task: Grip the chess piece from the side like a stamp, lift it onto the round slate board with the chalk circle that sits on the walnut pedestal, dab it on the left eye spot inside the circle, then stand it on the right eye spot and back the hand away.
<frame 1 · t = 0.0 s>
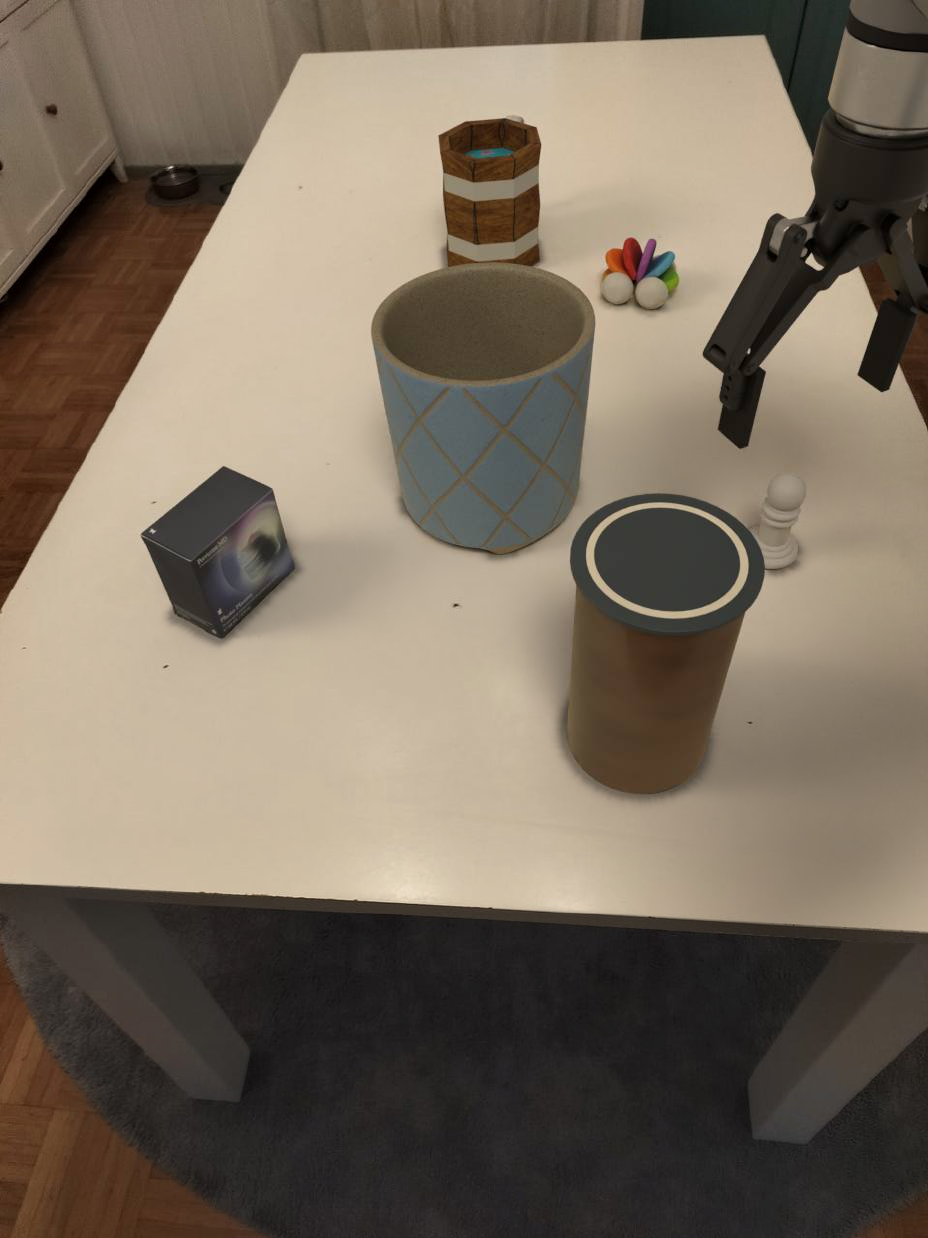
hand: (804, 409, 68), 18 cm above the table, tool pointing down, fingers open, 13 cm apart
slate board: (665, 562, 56), resting on walnut pedestal
rainbow petal fan toy: (638, 295, 113), on the table
small box: (237, 592, 83), on the table
mug: (499, 245, 123), on the table
chess piece: (766, 552, 83), on the table
planter: (490, 495, 90), on the table
walnut pedestal: (635, 733, 71), on the table
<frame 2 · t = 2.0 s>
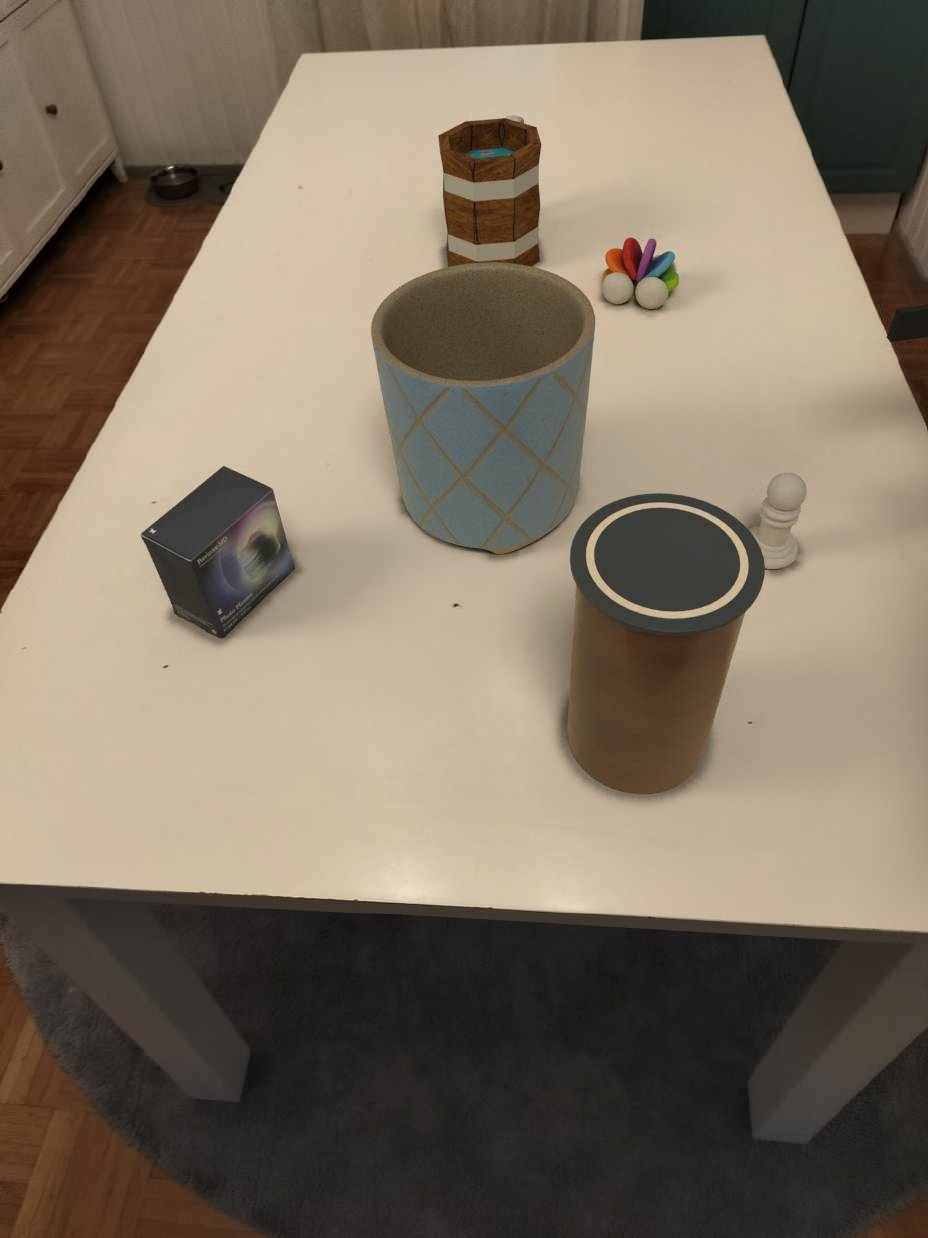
nothing on the table moved.
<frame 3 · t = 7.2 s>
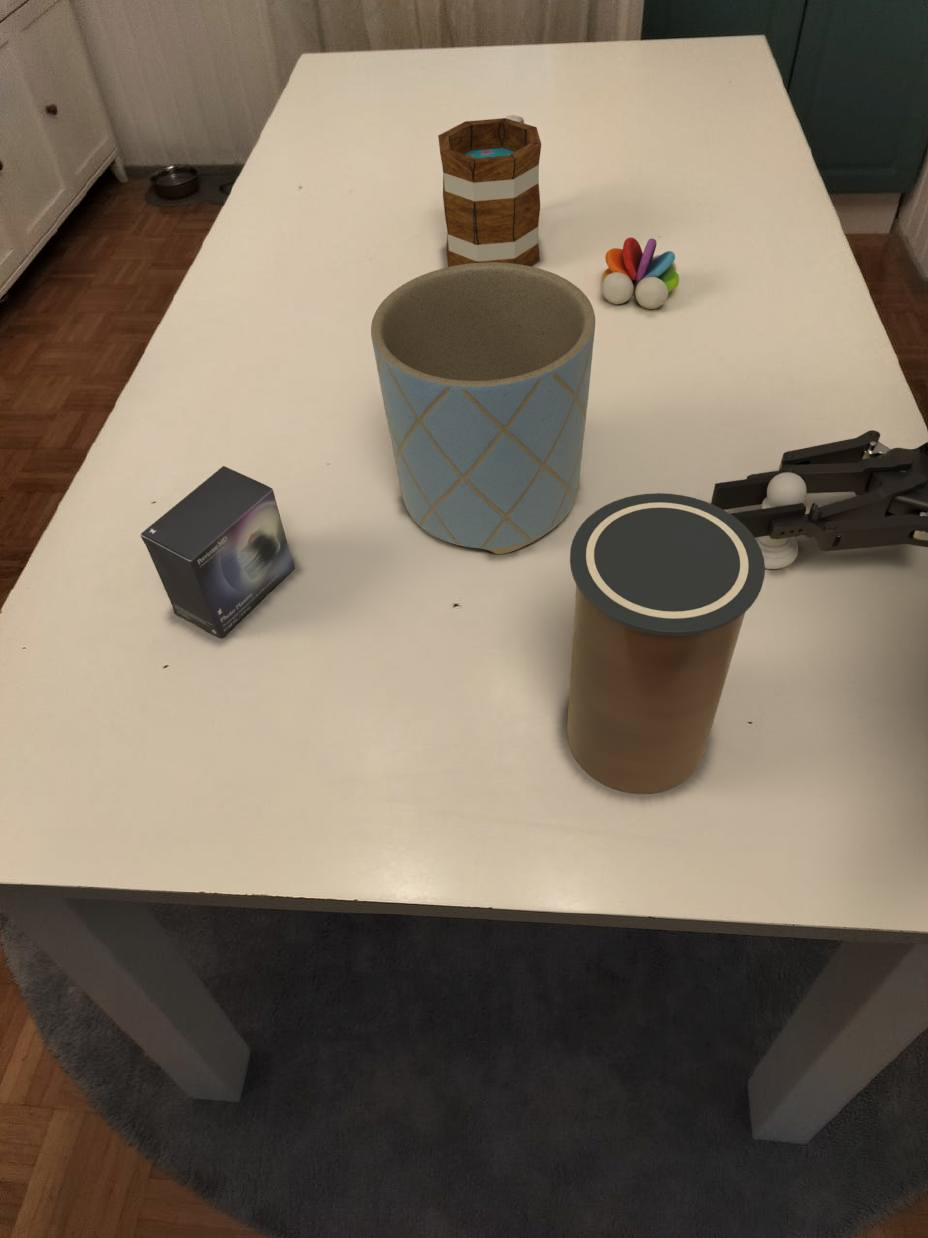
hand: (722, 512, 78), 6 cm above the table, tool horizontal, fingers closed on chess piece, 3 cm apart
chess piece: (767, 552, 83), on the table, touching gripper
everything else where it was.
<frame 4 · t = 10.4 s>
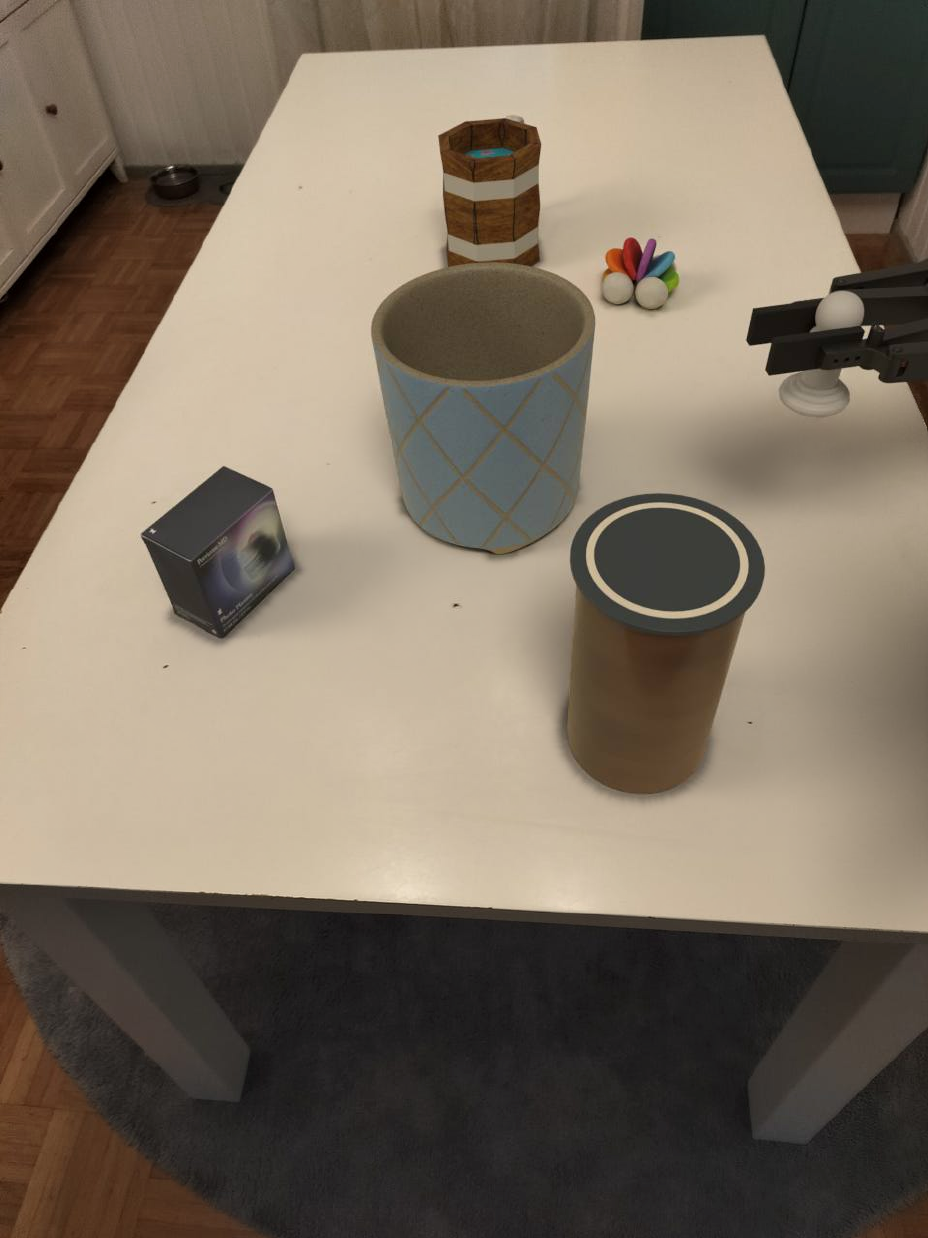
hand: (761, 341, 65), 23 cm above the table, tool horizontal, fingers closed on chess piece, 3 cm apart
chess piece: (811, 401, 70), point 17 cm above the table, touching gripper
everything else where it was.
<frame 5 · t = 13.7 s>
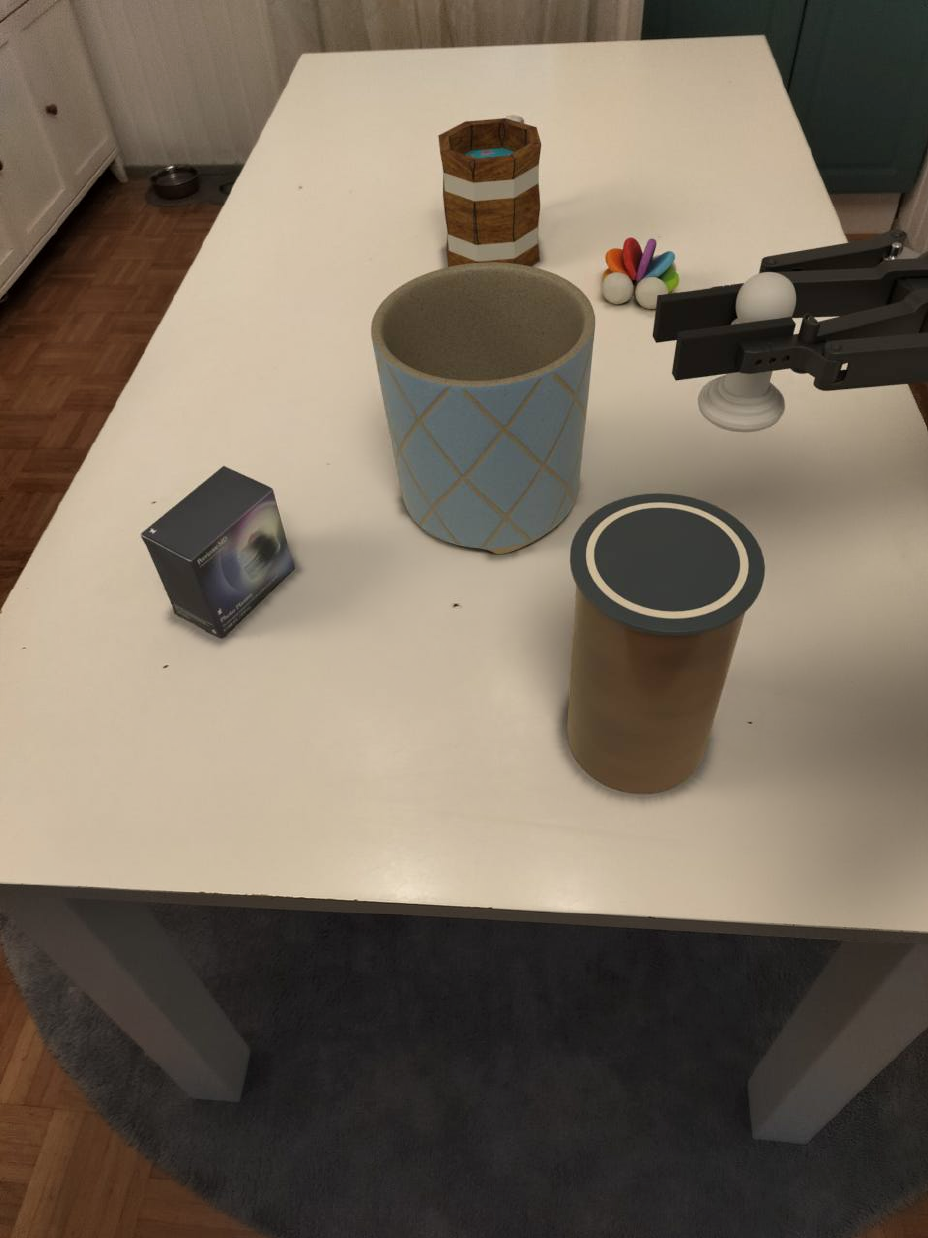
hand: (667, 337, 51), 32 cm above the table, tool horizontal, fingers closed on chess piece, 3 cm apart
chess piece: (738, 412, 56), point 25 cm above the table, touching gripper
everything else where it was.
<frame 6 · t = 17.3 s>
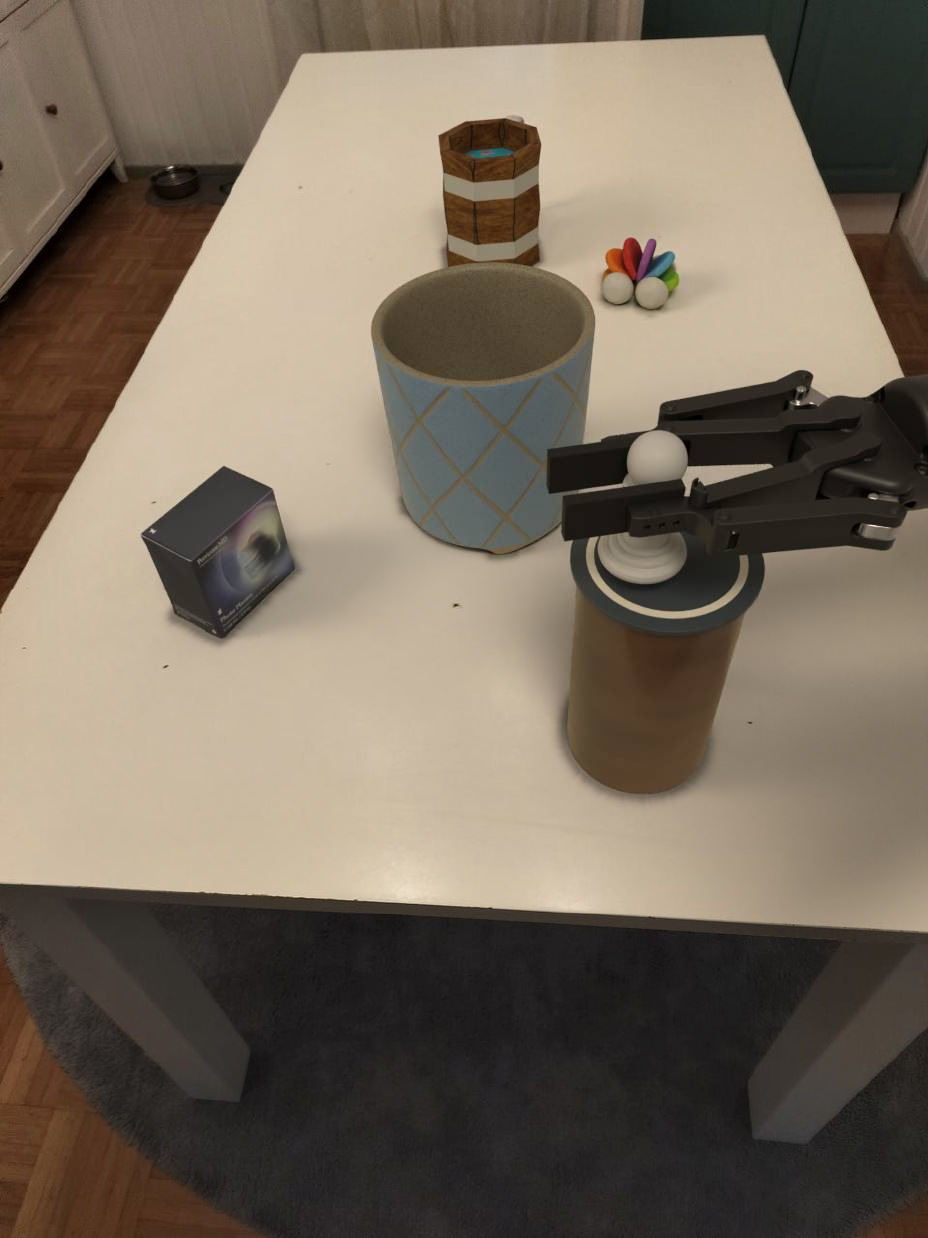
hand: (556, 494, 49), 28 cm above the table, tool horizontal, fingers closed on chess piece, 3 cm apart
chess piece: (640, 557, 54), point 21 cm above the table, touching gripper
everything else where it was.
when the fingers open (26 cm above the table, at t = 20.1 s): chess piece stays where it is, resting on slate board.
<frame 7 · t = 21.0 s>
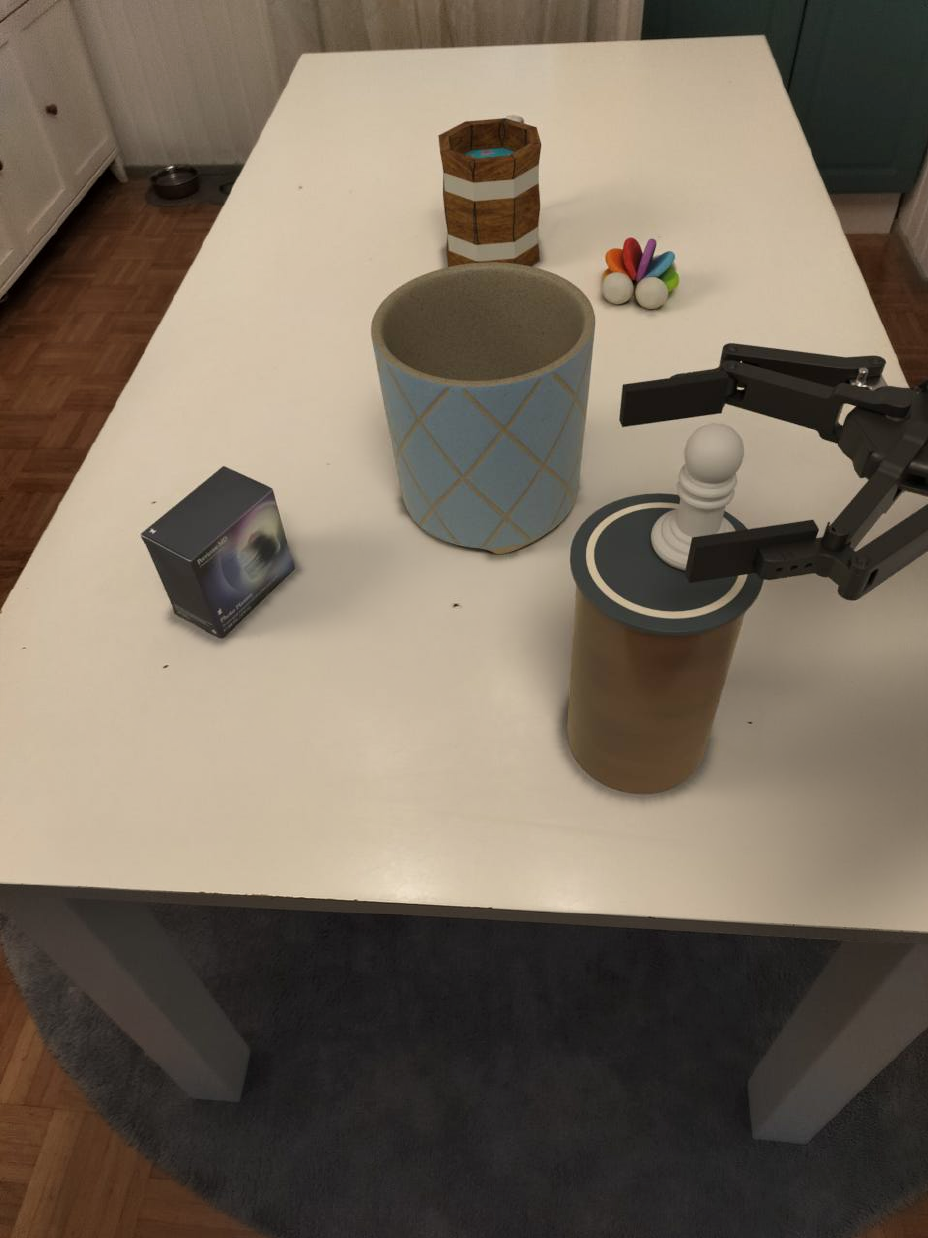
hand: (652, 476, 51), 27 cm above the table, tool horizontal, fingers open, 13 cm apart
chess piece: (692, 546, 56), point 20 cm above the table, touching slate board
everything else where it was.
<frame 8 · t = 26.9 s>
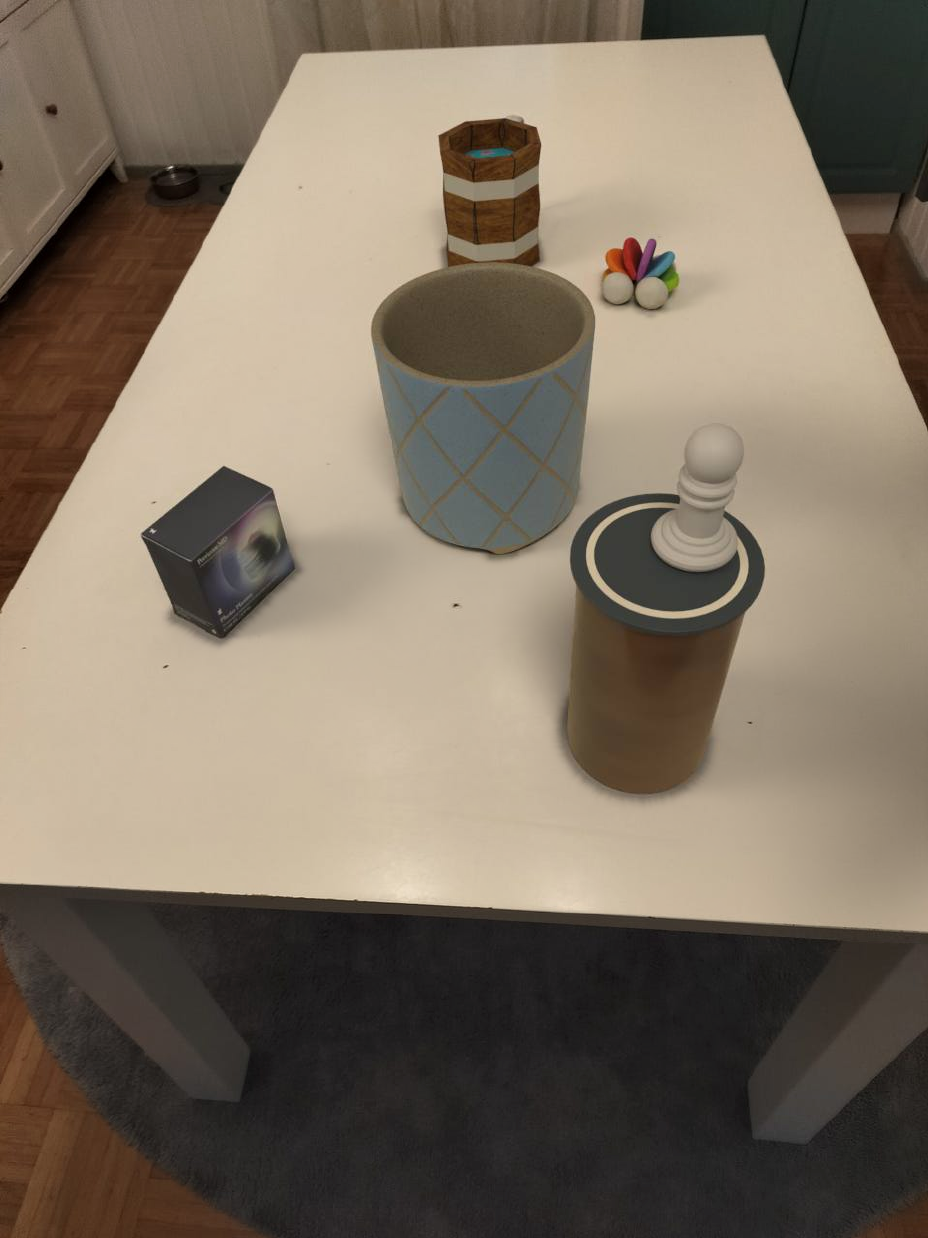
nothing on the table moved.
at the end: chess piece 0.0 cm from the target spot on the slate board, point 0.3 cm above the slate board's base; chess piece tilted 0°; the gripper is holding nothing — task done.
